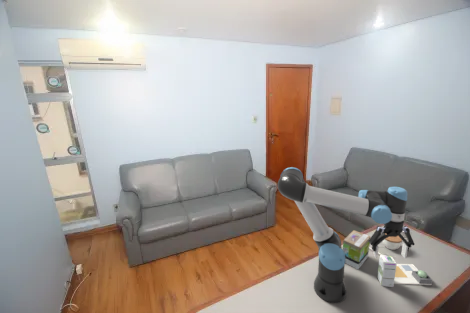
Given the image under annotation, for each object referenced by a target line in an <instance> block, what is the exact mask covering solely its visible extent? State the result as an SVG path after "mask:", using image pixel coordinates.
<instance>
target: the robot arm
mask: <svg viewBox="0 0 470 313" xmlns="http://www.w3.org/2000/svg"><path fill="white" fill-rule="evenodd" d="M303 175H304V174H303V172H302V171H301V170H300V169H299V168H297V167H293V166H291V167H287V168H285V169H283V171H282V172H281V174H280V177H279V179H278V182H277V189H278V192H279V193H280V194H281V195H282V196H283V197H285V198H287V199H289V200H291V201H294V203H295V205H296V206H297V208H298V210H299V212H300V213H301V214H302V217H303V219H304V220H305V221H306V223H307V225H308V227H309V228H310V230H311V232H312V233H313V236H312V238H313V240H314V242H315V244H316V247H317V248H318V265H317V266H318V268H317V269H318V270H317V274H316V277H315V279H314V281H313V289H314V292H315V293H316V295H318V297H319V298H320V299H321V300H323V301H325V302H327V303H333V304H337V303H342V302H343V301H345V299H346V298H347V297H346V296H347V288H346V284H345V281H344V277H345V276H344V275H345V264H346V263H345V254H344V251H343V250H342V249H343V246H342V240H341V238H340V236H339V234H338V233H337V232H336V231H334V229H333V228H332V227H329V226H328V224H327V223H326V221H325V219H324V218H323V216H322V215H321V212H320V211H319V210H318V207H317V206H316V205H320V206H323V207H327V208H331V209H336V210H340V211H344V212H347V213H352V214H355V215H356V214H357V215H360V216H365V217H367V218H371V219H372V220H373V221H374V222H375V223H377V224H380V225H383V226H382V227H381V226H379V225H377V226H376V228H375V231H374V233H372V235H371V236H370V237H371V238H370V240H369V241H368V242H369V243H370V245H371V250H372V252H373V253H372V255H373V256H374V257H375V258H374V259H378V254H379V248H380V247H379V245H380V244H381V243H383V242H382V241H383V240H384V239H385V238H388V237H389V236H390V237H392V236H394V237H397V236H399V237H400V238H401V239H402V244H401V246H402V247H401V252H400V255H401V256H402V257H403V258H404V259H407V255H408V252H409V251H410V248H412V246H415V242H414V239H413V238H412V235H411V233H410V231H411V230H410V228H409V227H408V226H406V225H404V224H405V221H404V220H405V215H406V209H407V208H406V207H407V202H408V190H406V189H405V188H404V187H399V186H389V187H388V189H387V190H386V191H385V190H383V191H382V190H372V189H361V190H359V191H358V196H356V195H351V194H348V193H347V194H346V193H343V192H338V191H333V190H330V189H324V188H320V187H317V186H311V185H309V184H308V183H307V182H306V181H305V179H304V176H303ZM402 232H403V233H404V234H405V237H406V238H405V237H404V236H403V235H402V234H401V233H402ZM385 233H386V234H387V235H386V234H385Z"/></svg>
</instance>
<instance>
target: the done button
mask: <svg viewBox="0 0 470 313" xmlns="http://www.w3.org/2000/svg"><path fill="white" fill-rule="evenodd" d="M417 275H418V276H419V277H420V278H427V275H428V273H427V272H426V271H425V270H421V269H418V274H417Z"/></svg>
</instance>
